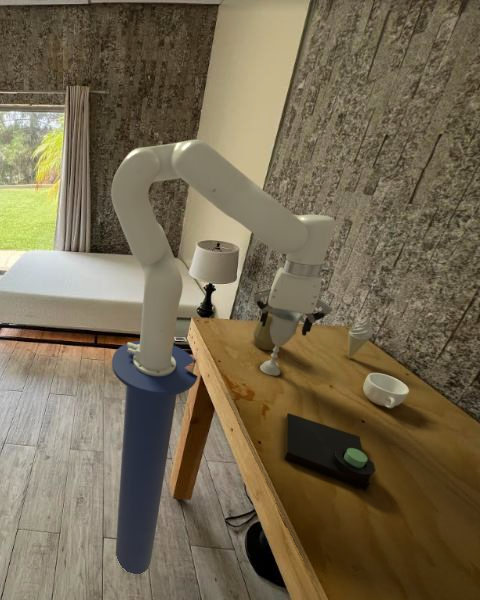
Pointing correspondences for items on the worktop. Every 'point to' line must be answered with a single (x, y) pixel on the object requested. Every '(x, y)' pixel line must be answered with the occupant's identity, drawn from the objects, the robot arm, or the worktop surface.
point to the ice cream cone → (359, 336)
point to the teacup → (385, 390)
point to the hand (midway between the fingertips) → (283, 328)
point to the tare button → (355, 457)
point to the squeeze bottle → (264, 333)
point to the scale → (324, 451)
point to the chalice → (280, 336)
